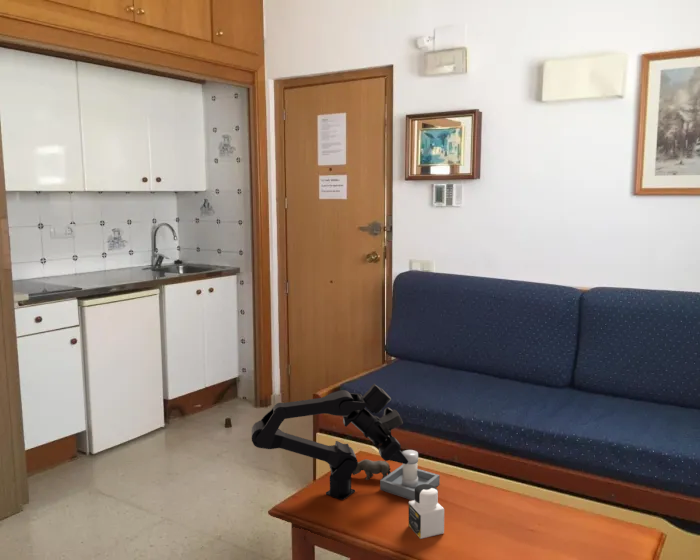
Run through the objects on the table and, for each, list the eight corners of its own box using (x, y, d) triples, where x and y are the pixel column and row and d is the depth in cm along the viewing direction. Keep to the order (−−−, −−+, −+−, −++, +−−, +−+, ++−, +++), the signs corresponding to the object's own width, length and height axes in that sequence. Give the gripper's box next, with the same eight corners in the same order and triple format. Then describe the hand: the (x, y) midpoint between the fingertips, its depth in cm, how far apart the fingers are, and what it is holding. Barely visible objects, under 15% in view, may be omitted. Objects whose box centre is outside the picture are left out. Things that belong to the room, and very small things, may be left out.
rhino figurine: (349, 473, 204) (348, 455, 203) (392, 476, 201) (392, 458, 200) (346, 479, 200) (346, 461, 199) (390, 482, 197) (390, 464, 196)
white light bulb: (416, 489, 191) (416, 457, 189) (400, 487, 192) (400, 455, 191) (419, 482, 196) (419, 450, 194) (404, 479, 197) (404, 449, 195)
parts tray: (417, 502, 185) (417, 492, 185) (380, 489, 193) (380, 480, 192) (439, 484, 196) (439, 475, 195) (402, 473, 203) (402, 464, 203)
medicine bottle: (408, 525, 173) (408, 484, 171) (431, 520, 175) (431, 479, 173) (420, 539, 166) (420, 496, 164) (444, 533, 169) (444, 491, 167)
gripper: (393, 415, 180) (431, 449, 183) (379, 393, 198) (414, 425, 201) (365, 443, 180) (403, 477, 183) (354, 419, 198) (389, 450, 201)
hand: (403, 456), depth 192 cm, fingers open, 9 cm apart
